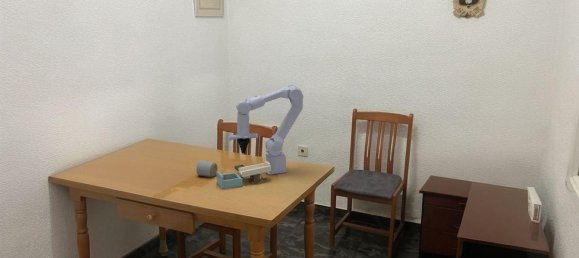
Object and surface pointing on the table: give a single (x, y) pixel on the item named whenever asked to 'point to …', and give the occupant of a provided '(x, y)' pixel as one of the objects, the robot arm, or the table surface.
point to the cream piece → (253, 169)
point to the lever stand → (255, 179)
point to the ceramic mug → (206, 168)
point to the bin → (230, 183)
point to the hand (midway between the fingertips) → (243, 153)
